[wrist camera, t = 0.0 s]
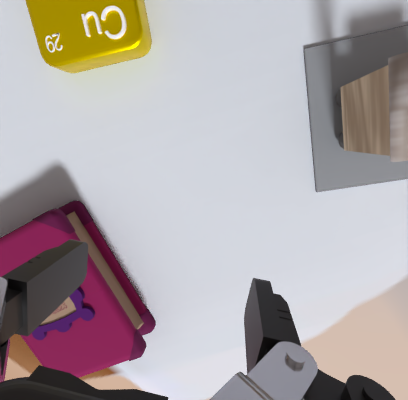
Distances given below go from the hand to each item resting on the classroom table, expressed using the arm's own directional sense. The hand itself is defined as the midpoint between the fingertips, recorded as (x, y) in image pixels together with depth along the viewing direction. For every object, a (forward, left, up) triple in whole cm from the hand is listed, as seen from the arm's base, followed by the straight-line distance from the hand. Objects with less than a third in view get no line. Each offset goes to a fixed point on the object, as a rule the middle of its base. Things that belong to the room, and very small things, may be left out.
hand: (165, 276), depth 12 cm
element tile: (-21, -21, -30) cm, 42 cm away
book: (+25, -22, -30) cm, 45 cm away
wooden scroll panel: (-13, +21, -29) cm, 38 cm away
